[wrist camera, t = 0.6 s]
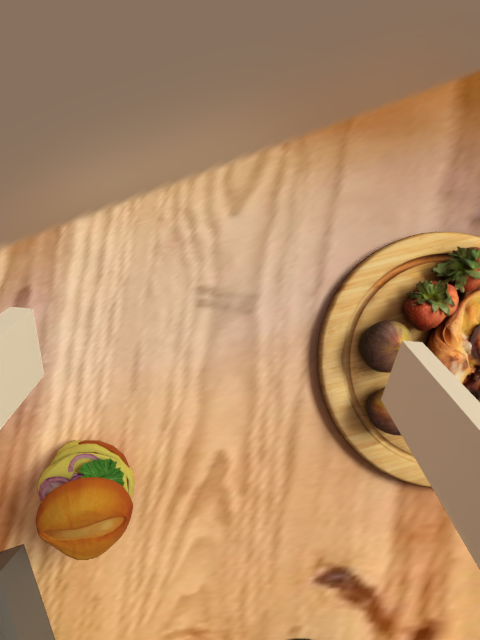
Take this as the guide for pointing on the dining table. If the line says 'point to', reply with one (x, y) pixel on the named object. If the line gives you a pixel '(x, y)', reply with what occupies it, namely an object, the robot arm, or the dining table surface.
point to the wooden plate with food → (398, 337)
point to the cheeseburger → (85, 499)
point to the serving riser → (21, 599)
